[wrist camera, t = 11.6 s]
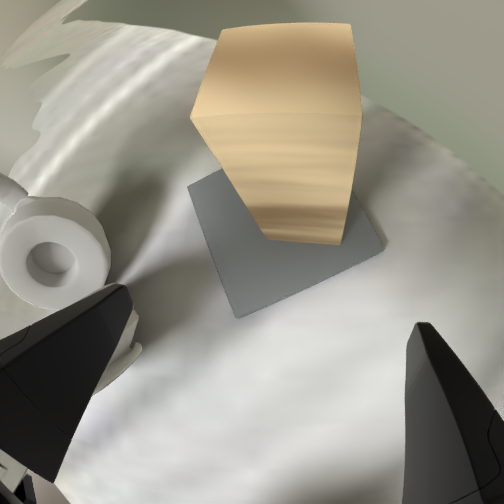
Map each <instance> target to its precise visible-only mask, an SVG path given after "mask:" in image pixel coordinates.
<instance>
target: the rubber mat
mask: <svg viewBox="0 0 504 504" xmlns="http://www.w3.org/2000/svg"><path fill="white" fill-rule="evenodd" d="M187 188H188V191H189V194H190V197H191V200H192V202H193V205H194V208H195V211H196V214H197V217H198V219H199V222H200V225H201V228H202V231H203V233H204V236H205V239H206V242H207V244H208V247H209V250H210V252H211V255H212V258H213V260H214V263H215V266H216V268H217V271H218V274H219V276H220V279H221V282H222V284H223V287H224V290H225V292H226V295H227V297H228V300H229V302H230V305H231V308H232V310H233V313H234V315H235V318H241V317H244V316H246V315H248V314H251V313H253V312H255V311H258V310H260V309H262V308H264V307H267V306H269V305H271V304H274V303H276V302H278V301H280V300H282V299H285V298H287V297H289V296H291V295H294V294H296V293H298V292H300V291H302V290H304V289H307V288H309V287H311V286H313V285H315V284H317V283H319V282H322V281H324V280H326V279H328V278H330V277H332V276H334V275H336V274H338V273H340V272H342V271H345V270H347V269H349V268H351V267H353V266H355V265H357V264H359V263H361V262H363V261H365V260H367V259H369V258H371V257H373V256H375V255H377V254H379V253H381V252H382V251H383V250H384V249H385V248H384V246H383V245H382V243H381V241H380V239H379V237H378V235H377V233H376V231H375V230H374V228H373V226H372V224H371V222H370V221H369V219H368V217H367V215H366V213H365V212H364V210H363V208H362V206H361V205H360V203H359V201H358V200H357V198H356V196H355V195H354V193H353V191H352V190H351V195H350V200H349V205H348V211H347V216H346V221H345V225H344V230H343V235H342V240H341V244H340V245H330V244H318V243H305V242H292V241H279V240H267V239H266V237H265V236H264V234H263V232H262V231H261V229H260V228H259V226H258V224H257V223H256V221H255V219H254V218H253V216H252V215H251V213H250V211H249V210H248V208H247V207H246V205H245V203H244V202H243V200H242V199H241V197H240V195H239V194H238V192H237V191H236V189H235V188H234V186H233V184H232V183H231V181H230V180H229V178H228V176H227V175H226V173H225V172H224V170H223V169H221V170H219V171H217V172H215V173H213V174H211V175H209V176H207V177H205V178H203V179H201V180H199V181H197V182H195V183H193V184H191V185H189V186H188V187H187Z"/></svg>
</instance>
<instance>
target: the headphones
mask: <svg viewBox="0 0 504 504" xmlns="http://www.w3.org/2000/svg"><path fill="white" fill-rule="evenodd" d="M27 196H28V192H27V191H26V190H25V189H24V188H22V187H21V186H20V185H19V184H18V183H17V182H15V181H14V180H13V179H11V178H9V177H7V176H5V175H4V174H1V173H0V202H1V203H3V204H4V205H5V206H7V207H8V208H9V209H10V210H11V211H12V212H13V213H14V212H15V214H14V215H12V216H11V218H10V219H9V220H8V221H7V222H6V224H5V226H4V228H3V230H2V232H1V234H0V271H1V274H2V277H3V279H4V280H5V282H6V283H7V285H8V286H9V288H10V289H11V290H12V291H13V292H14V293H15V294H16V295H17V296H19V297H20V298H21V299H22V300H24V301H26V302H28V303H30V304H32V305H34V306H36V307H40V308H44V309H49V310H61V309H63V308H65V307H67V306H69V305H71V304H73V303H75V302H77V301H79V300H81V299H84V298H86V297H88V296H90V295H92V294H94V293H96V292H98V291H100V290H102V289H104V288H106V287H108V286H110V285H112V284H115V283H116V282H115V283H111V284H108V285H105V286H104V284H105V281H106V278H107V276H108V273H109V270H110V268H111V250H110V247H109V244H108V241H107V238H106V236H105V233H104V230H103V227H102V225H101V223H100V222H99V221H98V220H97V218H96V217H95V216H94V215H93V213H92V212H91V211H89V210H88V209H86V208H85V207H83V206H82V205H80V204H79V203H77V202H74V201H71V200H68V199H64V198H61V197H48V198H43V197H35V196H28V197H27ZM133 308H134V305H133ZM138 320H139V316H138V314H137V313H136V311H135V310H134V309H133V310H132V313H131V315H130V317H129V320H128V322H127V324H126V327H125V329H124V331H123V334H122V336H121V338H120V341H119V343H118V345H117V348H116V350H115V352H114V353H113V355H112V357H111V359H110V361H109V363H108V365H107V367H106V369H105V371H104V373H103V375H102V377H101V379H100V381H99V383H98V385H97V387H96V389H95V391H94V393H93V395H95V394H96V393H98V392H99V391H101V390H102V389H103V388H105V387H106V386H108V385H109V384H110V383H111V382H113V381H114V380H115V379H116V378H117V377H119V376H120V375H121V374H122V373H123V372H124V371H125V370H126V369H127V368H128V367H129V366H130V365H131V364H132V363H133V362H134V361H135V360H136V359H137V357H138V356H139V355H140V353H141V351H142V345H141V344H140V343H138V342H135V343H131V342H132V339H133V336H134V332H135V329H136V326H137V323H138ZM93 395H92V396H93Z"/></svg>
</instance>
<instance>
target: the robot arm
mask: <svg viewBox="0 0 504 504" xmlns="http://www.w3.org/2000/svg"><path fill="white" fill-rule="evenodd" d="M132 310H133V302H132V300H131V297H130V294H129V291H128V289H127V287H126V286H125V285H122V284H117V283H115V284H112V285H110V286H108V287H106V288H104V289H102V290H100V291H98V292H96V293H94V294H92V295H90V296H88V297H86V298H84V299H81V300H79V301H77V302H75V303H73V304H71V305H69V306H67V307H65V308H63V309H61V310H59V311H57V312H55V313H53V314H51V315H49V316H47V317H45V318H44V319H42V320H40V321H38V322H36V323H34V324H32V325H30V326H28V327H26V328H24V329H22V330H20V331H18V332H16V333H14V334H12V335H10V336H8V337H5V338H3V339H1V340H0V504H36V498H35V493H34V488H33V483H32V477H31V476H30V475H29V474H28V473H27V471H28V469H30V470H31V471H33V472H34V473H36V474H38V475H39V476H41V477H43V478H44V479H46V480H48V481H49V482H51V483H54V481H55V479H56V477H57V474H58V472H59V469H60V467H61V464H62V462H63V459H64V457H65V455H66V452H67V450H68V447H69V445H70V443H71V441H72V440H71V439H72V438H73V436H74V433H75V431H76V429H77V427H78V424H79V422H80V420H81V418H82V416H83V414H84V411H85V409H86V407H87V405H88V403H89V401H90V399H91V397H92V395H93V393H94V391H95V389H96V387H97V385H98V383H99V381H100V379H101V377H102V375H103V373H104V371H105V369H106V367H107V365H108V363H109V361H110V359H111V357H112V355H113V353H114V352H115V350H116V348H117V345H118V343H119V341H120V338H121V336H122V334H123V331H124V329H125V327H126V324H127V322H128V320H129V317H130V315H131V313H132ZM402 504H504V421H503V419H502V418H501V416H500V415H499V413H498V412H497V410H496V409H495V410H494V406H493V405H492V403H491V402H490V400H489V399H488V397H487V396H486V395H485V393H484V392H483V390H482V389H481V388H480V386H479V385H478V383H477V382H476V381H475V379H474V378H473V377H472V375H471V374H470V372H469V371H468V370H467V368H466V367H465V366H464V365H463V363H462V362H461V361H460V359H459V358H458V357H457V355H456V354H455V353H454V352H453V350H452V349H451V348H450V347H449V345H448V344H447V343H446V342H445V340H444V339H443V338H442V337H441V335H440V334H439V333H438V332H437V330H436V329H435V328H434V327H433V326H432V325H431V324H430V323H428V322H417V323H416V324H415V326H414V328H413V331H412V333H411V335H410V338H409V340H408V343H407V349H406V380H405V471H404V487H403V498H402Z"/></svg>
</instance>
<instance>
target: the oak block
mask: <svg viewBox="0 0 504 504" xmlns="http://www.w3.org/2000/svg"><path fill="white" fill-rule="evenodd" d="M362 117H363V115H362V104H361V94H360V85H359V77H358V70H357V63H356V55H355V49H354V43H353V37H352V32H351V26H350V24H340V23H284V24H267V25H255V26H245V27H237V28H231V29H223V30H222V32H221V34H220V37H219V39H218V42H217V44H216V47H215V49H214V52H213V54H212V57H211V59H210V62H209V65H208V67H207V70H206V73H205V75H204V78H203V81H202V84H201V86H200V89H199V92H198V95H197V98H196V101H195V104H194V107H193V110H192V113H191V116H190V119H191V120H192V122H193V123H194V125H195V127H196V128H197V130H198V131H199V133H200V134H201V136H202V137H203V139H204V140H205V142H206V144H207V145H208V147H209V148H210V150H211V151H212V153H213V154H214V156H215V158H216V159H217V161H218V162H219V164H220V165H221V167H222V169H223V170H224V172H225V173H226V175H227V176H228V178H229V180H230V181H231V183H232V184H233V186H234V188H235V189H236V191H237V192H238V194H239V195H240V197H241V199H242V200H243V202H244V203H245V205H246V207H247V208H248V210H249V211H250V213H251V215H252V216H253V218H254V219H255V221H256V223H257V224H258V226H259V228H260V229H261V231H262V232H263V234H264V236H265V237H266V239H267V240H279V241H292V242H305V243H318V244H330V245H340V244H341V240H342V235H343V230H344V225H345V221H346V216H347V211H348V205H349V200H350V195H351V189H352V184H353V178H354V172H355V166H356V160H357V153H358V146H359V139H360V132H361V124H362Z"/></svg>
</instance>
